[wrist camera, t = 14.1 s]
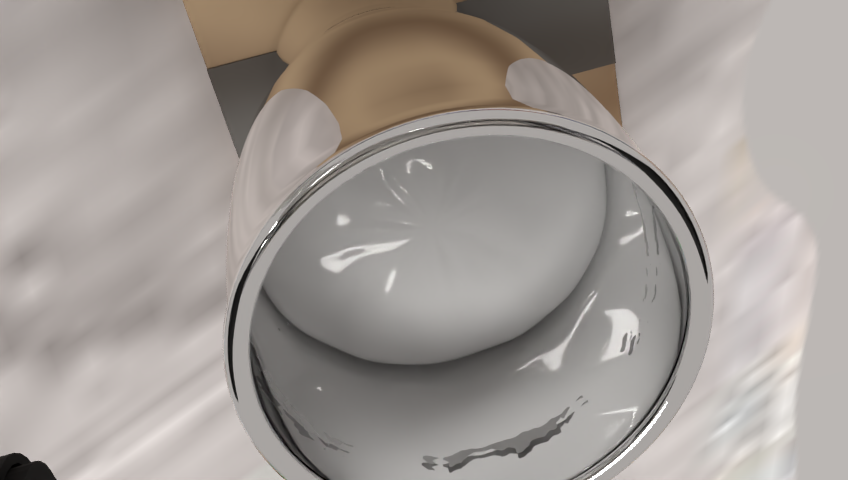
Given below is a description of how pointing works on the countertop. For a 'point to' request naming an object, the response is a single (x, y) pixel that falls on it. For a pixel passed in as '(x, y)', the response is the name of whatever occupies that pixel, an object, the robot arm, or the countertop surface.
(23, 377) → the countertop surface
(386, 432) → the beer glass
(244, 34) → the oak board
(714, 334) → the countertop surface
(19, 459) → the robot arm
